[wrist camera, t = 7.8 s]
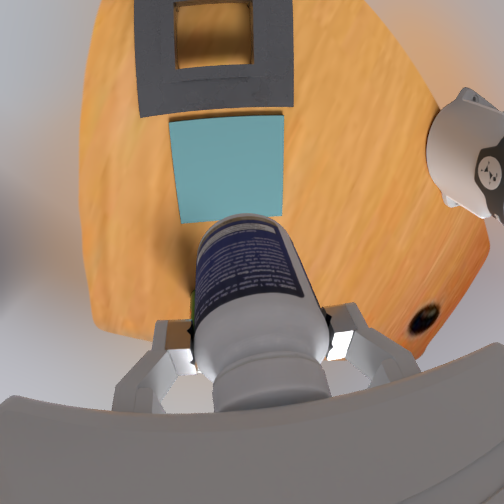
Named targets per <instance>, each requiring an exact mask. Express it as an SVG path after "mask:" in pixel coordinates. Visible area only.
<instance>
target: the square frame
mask: <svg viewBox="0 0 504 504" xmlns="http://www.w3.org/2000/svg"><path fill="white" fill-rule="evenodd" d="M215 3H248V7H250V21H251V64H240V65H218V66H205V67H194V68H184V69H178V58H177V30H176V12H178V7H182V6H190V5H201V4H215ZM134 33H135V59H136V76H137V89H138V101H139V111H140V118H143V117H149V116H156V115H163V114H170V113H178V112H187V111H197V110H209V109H222V108H241V107H293V104H294V53H293V5H292V0H134Z"/></svg>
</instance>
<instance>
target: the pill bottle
mask: <svg viewBox="0 0 504 504" xmlns="http://www.w3.org/2000/svg"><path fill="white" fill-rule="evenodd" d="M329 340H330V339H329V329H328V326H327V323H326V321H325V317H324V315H323V312H322V310H321V308H320V305H319V303H318V300H317V298H316V296H315V293H314V291H313V289H312V286H311V284H310V282H309V279H308V277H307V275H306V272H305V270H304V268H303V265H302V263H301V260H300V258H299V256H298V253H297V251H296V249H295V247H294V245H293V242H292V240H291V238H290V237H289V235H288V233H287V232H286V230H285V229H284V228H283V227H282V226H281V225H280V224H279V223H277V222H276V221H274V220H272V219H270V218H268V217H266V216H263V215H259V214H253V213H241V214H235V215H231V216H228V217H226V218H224V219H222V220H220V221H218V222H217V223H215V224H214V225H213V226H212V227H211V228H210V229H209V230H208V231H207V232H206V233H205V235H204V236H203V238H202V240H201V242H200V245H199V248H198V253H197V262H196V285H195V312H194V357H195V360H196V363H197V365H198V367H199V369H200V371H201V372H202V373H203V374H204V375H205V376H206V377H207V378H208V379H209V380H210V381H212V382H213V392H212V394H213V402H214V413H216V412H231V411H243V410H253V409H262V408H271V407H278V406H285V405H292V404H298V403H304V402H310V401H315V400H320V399H325V398H330V397H332V396H331V393H330V389H329V386H328V382H327V379H326V375H325V372H324V370H323V369H322V366H321V362H322V361H323V359H324V357H325V355H326V353H327V351H328V347H329Z"/></svg>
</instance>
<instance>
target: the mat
mask: <svg viewBox="0 0 504 504" xmlns="http://www.w3.org/2000/svg"><path fill="white" fill-rule="evenodd" d="M169 129H170V139H171V148H172V157H173V166H174V174H175V182H176V190H177V197H178V204H179V211H180V218H181V224H183V223H194V222H205V221H217V220H222V219H224V218H226V217H228V216H231V215H235V214H241V213H253V214H259V215H263V216H266V217H270V216H282V198H283V153H284V115H254V116H231V117H216V118H203V119H193V120H183V121H175V122H169Z"/></svg>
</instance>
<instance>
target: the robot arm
mask: <svg viewBox="0 0 504 504" xmlns="http://www.w3.org/2000/svg"><path fill="white" fill-rule="evenodd" d="M426 155H427V165H428V169H429V173H430V175H431V178H432V180H433V181H434V183H435V184H436V185H437V186H438V188H439V189H440V190H441V192H442V197H443V201H444V203H445V205H447V206H449V207H456V206H460V205H461V206H463V207H464V208H466V209H467V210H469V211H470V212H472V213H473V214H475V215H476V216H478V217H480V218H482V219H484V218H486V217H490V216H493V217H494V218H496V219H497V220H498V221H499V223H501V224H502V225H503V226H504V112H501V111H499V110H498V109H496V108H495V107H494V106H493V105H492V104H490V103H489V102H488V101H486V100H485V99H484V98H483V97H481V96H480V95H479V94H477V93H476V92H475V91H473V90H472V89H469V88H466V87H465V88H463V89H462V90H461V91H460V93H459V95H458V96H457V98H456V99H455V100H454V101H453V102H451V103H450V104H448V105H447V106H445V107H444V108H443V109H442V110H441V111H440V112H439V113H438V115H437V116H436V118H435V120H434V122H433V124H432V126H431V129H430V132H429V136H428V141H427V150H426ZM321 310H322V312H323V315H324V317H325V321H326V323H327V326H328V329H329V339H330V340H329V347H328V351H327V353H326V358H327V360H331V359H338V358H344V357H345V359H346V360H348V361H349V362H350V363H351V364H352V365H353V366H355V367H356V368H357V369H358V370H359V371H360V372H361V373H362V374H364V375H365V376H366V377H367V378H368V379H369V380H371V383H370V385H369V387H368V388H367V389H365V390H361V391H357V392H353V393H349V394H344V395H340V396H335V397H330V398H325V399H320V400H315V401H310V402H304V403H298V404H292V405H285V406H278V407H271V408H262V409H253V410H243V411H231V412H216V413H191V414H166V412H165V410H164V409H163V407H162V405H161V401H162V400H163V398H164V397H165V395H166V394H167V392H168V391H169V389H170V388H171V386H172V385H173V383H174V382H175V380H176V379H177V377H178V376H179V375H196V374H197V363H196V360H195V357H194V324H193V320H192V319H185V320H157V322H156V324H155V331H154V337H153V345H152V350H150V351H148V352H147V353H146V354H145V355H144V356H143V357H142V358H141V359H140V360H139V361H138V362H137V363H136V364H135V366H134V367H133V368H132V369H131V370H130V371H129V372H128V373H127V374H126V375H125V376H124V378H122V380H121V381H120V382H119V383H118V384H117V385H116V387H115V393H114V399H113V405H112V411H106V410H97V409H87V408H80V407H73V406H66V405H61V404H55V403H49V402H44V401H39V400H34V399H29V398H25V397H21V396H16V395H13V396H10V397H9V398H7V399H6V400H5V401H4V402H2V403H1V404H0V504H504V345H502V344H500V343H498V342H496V343H492V344H490V345H487V346H485V347H483V348H481V349H479V350H477V351H474V352H472V353H470V354H468V355H465V356H463V357H460V358H458V359H456V360H453V361H451V362H448V363H446V364H443V365H441V366H438V367H435V368H432V369H430V370H427V371H424V372H421V370H420V368H419V367H418V365H417V363H416V361H415V359H414V357H413V355H412V354H411V352H410V351H408V350H406V349H405V348H403V347H402V346H400V345H399V344H397V343H395V342H394V341H392V340H391V339H389V338H387V337H386V336H384V335H383V334H381V333H380V332H378V331H376V330H375V329H373V328H369V327H368V325H367V324H366V322H365V320H364V318H363V316H362V314H361V312H360V310H359V309H358V307H357V305H356V303H354V302H352V303H346V304H339V305H332V306H325V307H322V308H321Z"/></svg>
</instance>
